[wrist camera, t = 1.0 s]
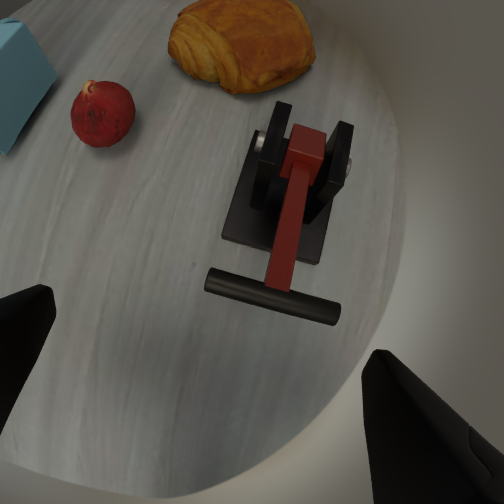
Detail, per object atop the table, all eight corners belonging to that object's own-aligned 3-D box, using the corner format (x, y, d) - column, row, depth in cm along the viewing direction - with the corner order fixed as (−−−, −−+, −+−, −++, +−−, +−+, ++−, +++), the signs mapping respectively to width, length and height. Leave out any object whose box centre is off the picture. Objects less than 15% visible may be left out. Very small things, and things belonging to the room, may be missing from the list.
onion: (140, 158, 27) (113, 109, 19) (84, 164, 27) (46, 122, 19) (146, 107, 28) (126, 53, 20) (93, 114, 28) (64, 66, 20)
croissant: (163, 49, 32) (142, 5, 24) (277, 5, 32) (275, -42, 24) (211, 132, 30) (191, 85, 22) (344, 75, 30) (356, 24, 22)
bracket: (315, 265, 26) (359, 240, 17) (221, 238, 26) (215, 198, 17) (337, 161, 28) (379, 101, 19) (254, 136, 28) (264, 64, 19)
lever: (325, 333, 15) (346, 316, 13) (203, 300, 15) (204, 277, 13) (342, 167, 21) (354, 142, 19) (258, 142, 21) (265, 114, 19)
